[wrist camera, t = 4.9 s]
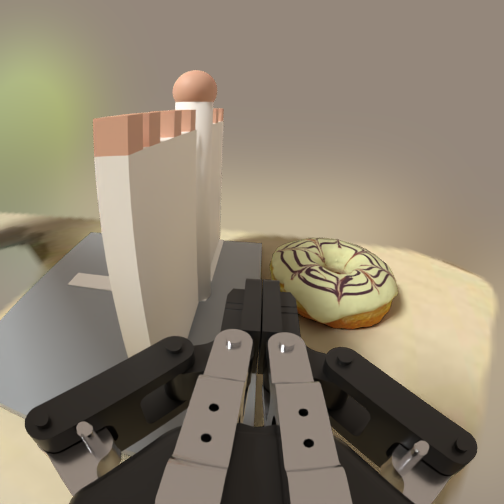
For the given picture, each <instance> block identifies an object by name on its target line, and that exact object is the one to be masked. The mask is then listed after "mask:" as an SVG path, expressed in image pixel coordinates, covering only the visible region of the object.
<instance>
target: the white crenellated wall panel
mask: <svg viewBox="0 0 504 504" xmlns="http://www.w3.org/2000/svg"><path fill="white" fill-rule="evenodd" d="M195 124H196V110H169V111H155V112H154V111H153V112H149V113H134V114H124V115H118V116H109V117H102V118H96V119H93V136H94V159H95V174H96V186H97V197H98V205H99V215H100V223H101V230H102V237H103V244H104V250H105V257H106V262H107V268H108V274H109V279H110V284H111V289H112V294H113V299H114V303H115V308H116V312H117V317H118V321H119V325H120V329H121V333H122V337H123V341H124V344H125V348H126V352H127V355H128V358H130V357H131V356H133V355H135V354H137V353H139V352H141V351H142V350H144V349H146V348H148V347H150V346H151V345H153V344H155V343H157V342H159V341H160V340H162V339H164V338H166V337H170V336H181V337H184V338H188V335H189V332H190V329H191V325H192V322H193V319H194V316H195V313H196V309H197V306H198V303H199V300H198V275H197V239H196V144H197V129H195Z"/></svg>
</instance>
